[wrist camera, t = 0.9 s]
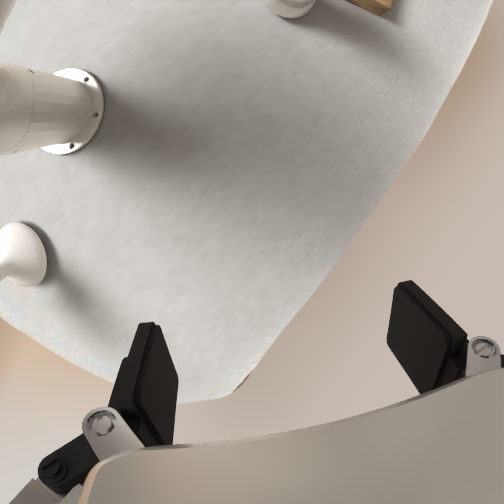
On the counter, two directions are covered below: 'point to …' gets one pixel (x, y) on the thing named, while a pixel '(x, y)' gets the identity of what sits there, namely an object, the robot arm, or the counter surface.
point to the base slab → (374, 5)
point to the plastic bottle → (290, 7)
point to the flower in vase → (21, 255)
